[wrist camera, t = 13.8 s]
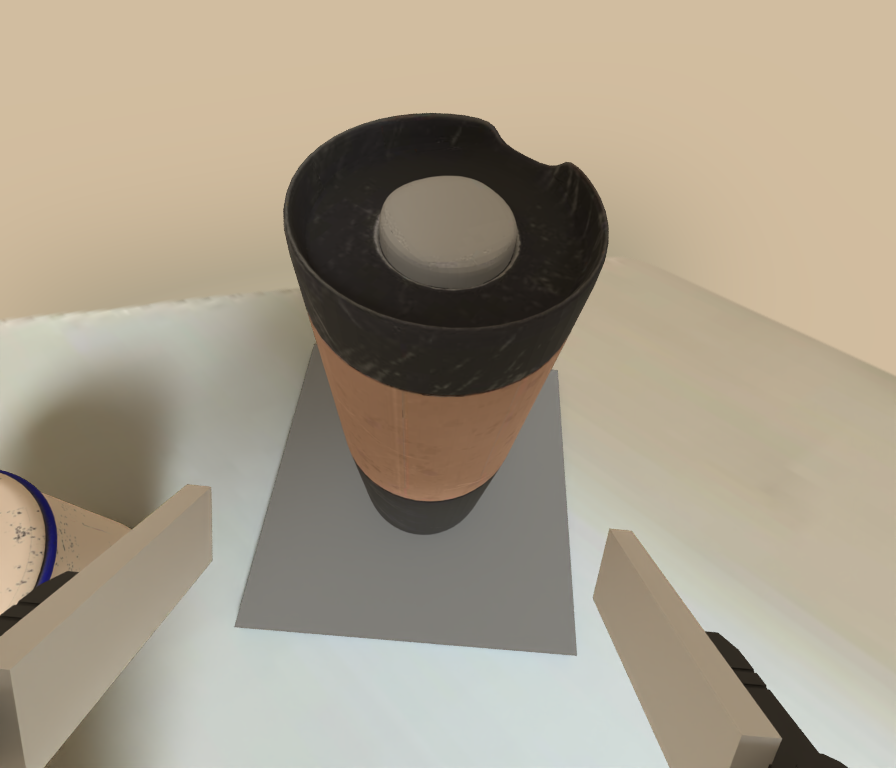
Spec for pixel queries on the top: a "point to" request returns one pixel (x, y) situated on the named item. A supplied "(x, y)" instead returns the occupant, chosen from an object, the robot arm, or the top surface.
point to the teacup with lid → (45, 538)
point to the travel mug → (438, 298)
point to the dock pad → (415, 545)
